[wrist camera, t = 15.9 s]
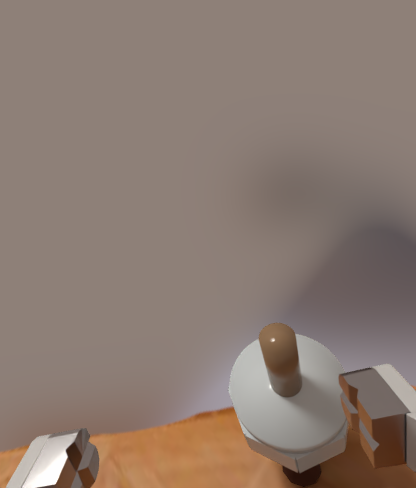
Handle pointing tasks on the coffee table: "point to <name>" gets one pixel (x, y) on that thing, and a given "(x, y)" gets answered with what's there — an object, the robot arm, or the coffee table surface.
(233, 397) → the hexagonal peg stand
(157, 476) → the coffee table surface
